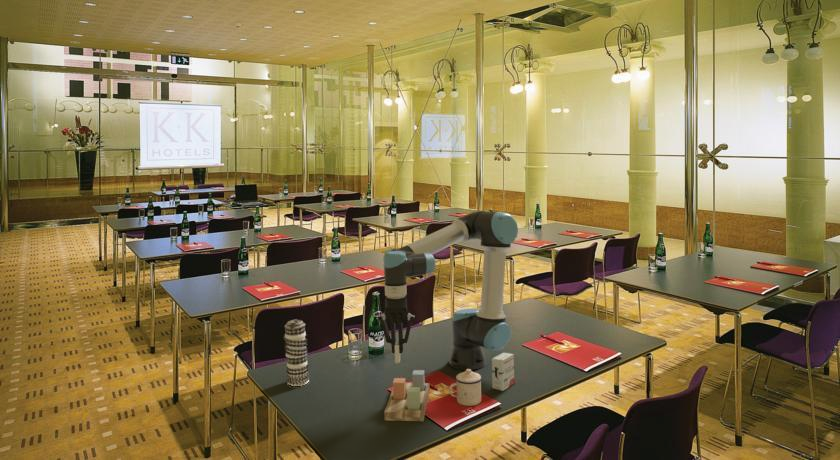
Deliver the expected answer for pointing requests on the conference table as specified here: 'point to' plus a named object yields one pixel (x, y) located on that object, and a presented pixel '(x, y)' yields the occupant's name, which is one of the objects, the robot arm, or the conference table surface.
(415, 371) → the block slate
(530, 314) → the conference table surface
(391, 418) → the block board
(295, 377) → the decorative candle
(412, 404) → the block sage
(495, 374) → the ink box
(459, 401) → the teacup with lid
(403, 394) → the block terracotta
